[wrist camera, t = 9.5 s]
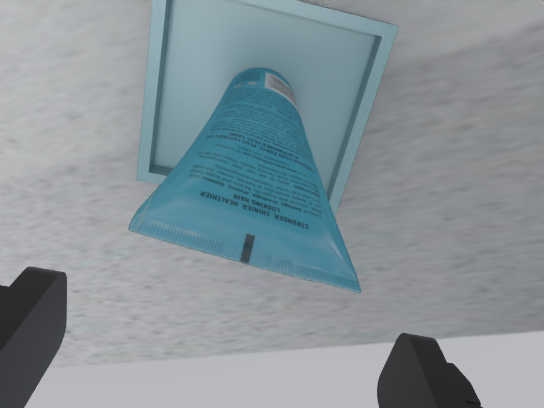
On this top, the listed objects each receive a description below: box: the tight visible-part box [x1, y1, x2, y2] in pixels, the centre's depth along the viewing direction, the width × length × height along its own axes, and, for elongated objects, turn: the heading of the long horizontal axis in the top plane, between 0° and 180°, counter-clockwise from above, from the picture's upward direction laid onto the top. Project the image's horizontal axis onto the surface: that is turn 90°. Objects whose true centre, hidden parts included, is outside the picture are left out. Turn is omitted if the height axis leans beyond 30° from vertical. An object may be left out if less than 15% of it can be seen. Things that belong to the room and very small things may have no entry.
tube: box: [128, 68, 361, 293], centre depth 21 cm, size 7×5×19 cm, turn 76°
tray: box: [136, 0, 399, 217], centre depth 30 cm, size 15×14×2 cm
